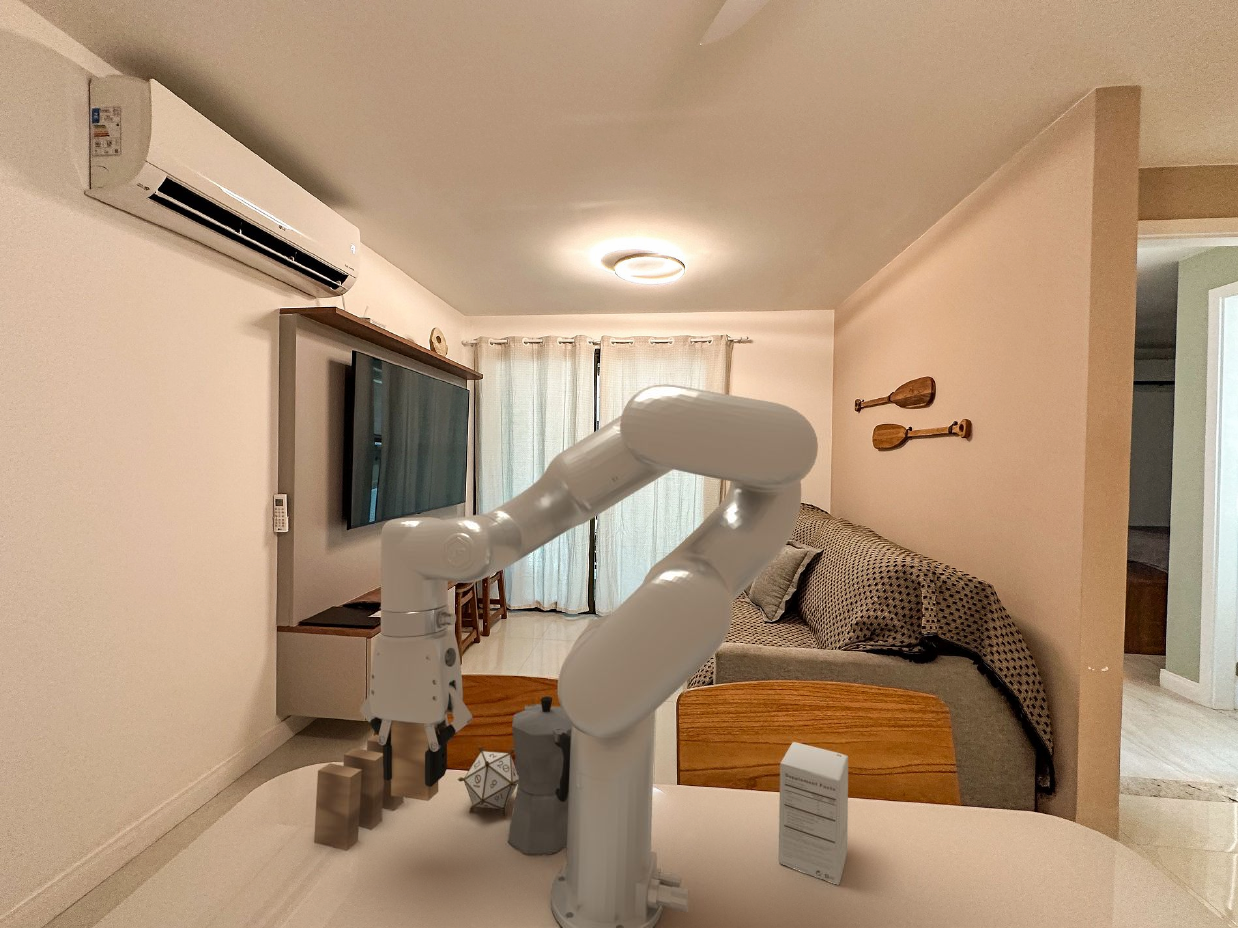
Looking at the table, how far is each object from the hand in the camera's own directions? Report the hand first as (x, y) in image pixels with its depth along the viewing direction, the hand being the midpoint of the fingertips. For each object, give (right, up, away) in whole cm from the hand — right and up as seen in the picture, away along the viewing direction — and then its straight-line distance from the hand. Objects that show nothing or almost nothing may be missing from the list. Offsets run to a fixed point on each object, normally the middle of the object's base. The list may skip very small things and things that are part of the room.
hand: (414, 775), depth 65 cm
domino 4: (0, -2, 0) cm, 2 cm away
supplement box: (+49, -14, +5) cm, 51 cm away
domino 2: (-11, -12, +10) cm, 19 cm away
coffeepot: (+14, -13, +8) cm, 21 cm away
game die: (+6, -13, +14) cm, 20 cm away
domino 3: (-10, -12, +14) cm, 21 cm away
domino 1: (-12, -12, +6) cm, 18 cm away
